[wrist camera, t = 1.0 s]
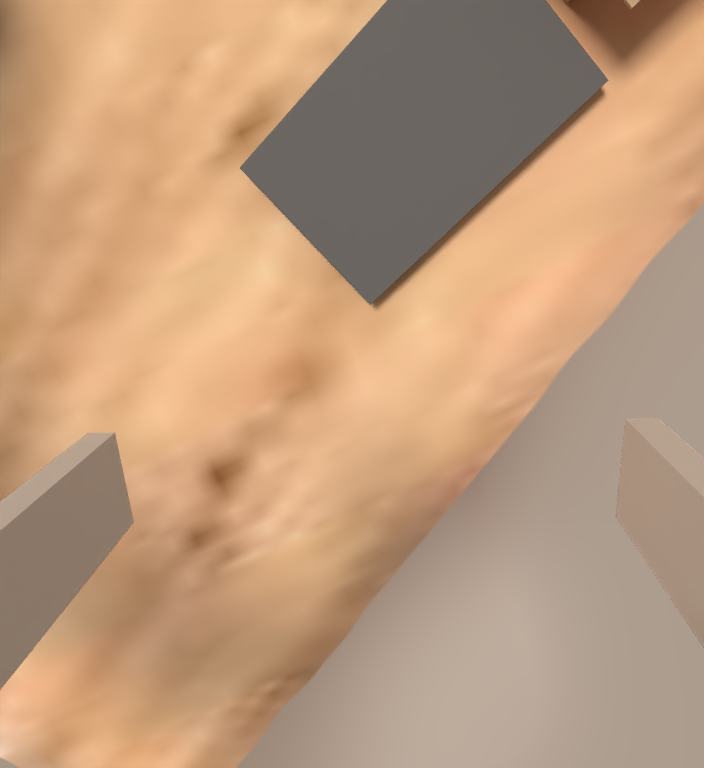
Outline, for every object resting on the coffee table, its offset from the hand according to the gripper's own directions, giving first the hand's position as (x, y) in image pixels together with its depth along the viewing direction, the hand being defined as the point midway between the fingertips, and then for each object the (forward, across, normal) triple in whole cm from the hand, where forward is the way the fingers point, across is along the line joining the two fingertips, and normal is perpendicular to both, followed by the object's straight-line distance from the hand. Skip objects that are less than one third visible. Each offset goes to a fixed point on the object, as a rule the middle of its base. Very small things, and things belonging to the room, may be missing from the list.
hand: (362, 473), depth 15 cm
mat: (+26, +2, +10) cm, 28 cm away
